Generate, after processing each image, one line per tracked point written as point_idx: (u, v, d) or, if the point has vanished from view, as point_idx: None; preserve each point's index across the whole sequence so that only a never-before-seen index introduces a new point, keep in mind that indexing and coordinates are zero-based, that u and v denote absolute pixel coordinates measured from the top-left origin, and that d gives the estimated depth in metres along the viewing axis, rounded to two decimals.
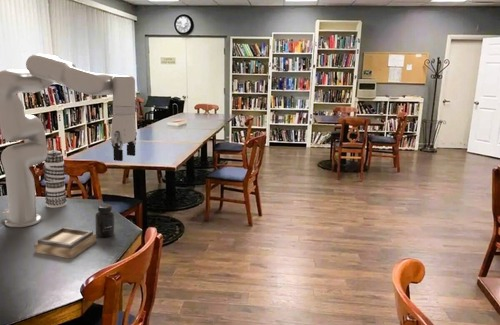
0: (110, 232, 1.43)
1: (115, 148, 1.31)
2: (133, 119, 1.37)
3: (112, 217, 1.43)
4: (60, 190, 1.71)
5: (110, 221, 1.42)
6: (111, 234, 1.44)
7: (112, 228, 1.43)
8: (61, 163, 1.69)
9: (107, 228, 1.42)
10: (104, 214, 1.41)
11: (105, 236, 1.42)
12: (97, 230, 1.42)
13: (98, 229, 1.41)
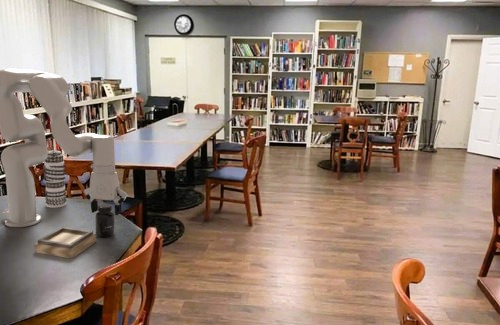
0: (110, 232, 1.43)
1: (121, 202, 1.41)
2: None
3: (112, 217, 1.43)
4: (60, 190, 1.71)
5: (110, 221, 1.42)
6: (111, 234, 1.44)
7: (112, 228, 1.43)
8: (61, 163, 1.69)
9: (107, 228, 1.42)
10: (104, 214, 1.41)
11: (105, 236, 1.42)
12: (97, 230, 1.42)
13: (98, 229, 1.41)
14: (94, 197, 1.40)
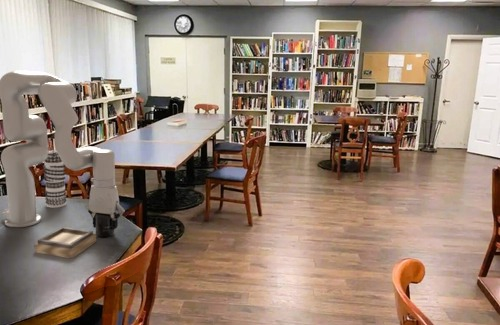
0: (110, 232, 1.43)
1: (117, 218, 1.43)
2: None
3: None
4: (60, 190, 1.71)
5: (110, 221, 1.42)
6: (111, 234, 1.44)
7: None
8: (61, 163, 1.69)
9: (107, 228, 1.42)
10: (104, 214, 1.41)
11: (105, 236, 1.42)
12: (97, 229, 1.42)
13: (98, 229, 1.41)
14: (93, 210, 1.41)
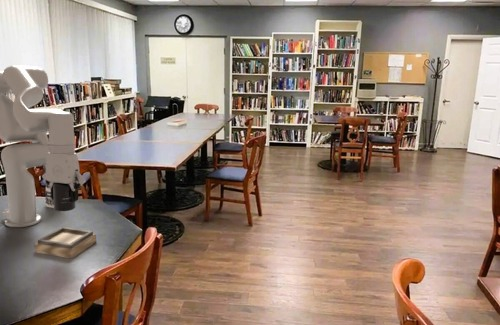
0: (70, 204, 1.28)
1: (77, 188, 1.28)
2: None
3: None
4: None
5: None
6: (71, 207, 1.29)
7: None
8: None
9: (65, 199, 1.27)
10: (62, 184, 1.27)
11: (64, 209, 1.28)
12: (55, 201, 1.27)
13: (56, 201, 1.27)
14: (50, 180, 1.26)
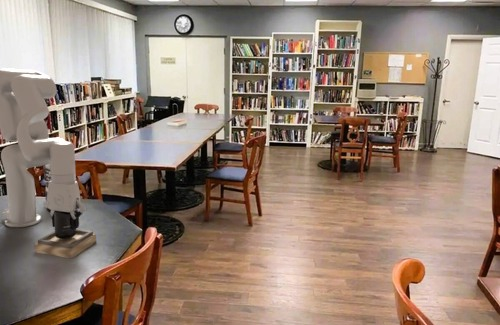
0: (70, 232, 1.31)
1: (78, 216, 1.30)
2: None
3: None
4: None
5: None
6: (72, 234, 1.31)
7: None
8: None
9: (66, 227, 1.29)
10: (63, 212, 1.29)
11: (65, 236, 1.30)
12: (56, 229, 1.30)
13: (57, 229, 1.29)
14: (52, 208, 1.29)
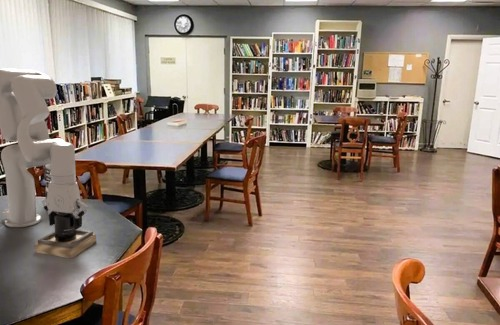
0: (71, 235, 1.31)
1: (81, 216, 1.30)
2: None
3: (73, 219, 1.31)
4: None
5: (71, 223, 1.30)
6: (72, 237, 1.32)
7: (73, 231, 1.32)
8: None
9: (66, 231, 1.30)
10: (63, 215, 1.29)
11: (65, 240, 1.30)
12: (56, 233, 1.30)
13: (57, 232, 1.30)
14: (52, 209, 1.29)
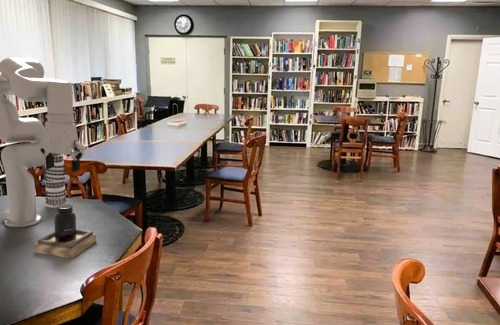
0: (71, 235, 1.31)
1: (79, 158, 1.26)
2: None
3: (73, 219, 1.31)
4: (60, 190, 1.71)
5: (71, 223, 1.30)
6: (72, 237, 1.32)
7: (73, 231, 1.32)
8: (61, 163, 1.69)
9: (66, 231, 1.30)
10: (63, 215, 1.29)
11: (65, 240, 1.30)
12: (56, 233, 1.30)
13: (57, 232, 1.30)
14: (48, 151, 1.24)
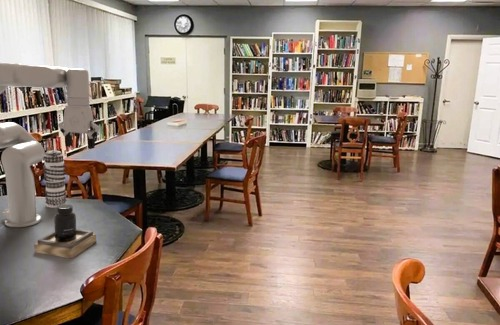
0: (71, 235, 1.31)
1: (94, 136, 1.43)
2: None
3: (73, 219, 1.31)
4: (60, 190, 1.71)
5: (71, 223, 1.30)
6: (72, 237, 1.32)
7: (73, 231, 1.32)
8: (61, 163, 1.69)
9: (66, 231, 1.30)
10: (63, 215, 1.29)
11: (65, 240, 1.30)
12: (56, 233, 1.30)
13: (57, 232, 1.30)
14: (68, 130, 1.42)
